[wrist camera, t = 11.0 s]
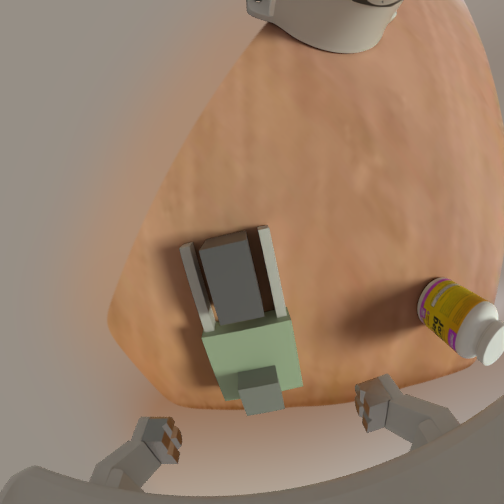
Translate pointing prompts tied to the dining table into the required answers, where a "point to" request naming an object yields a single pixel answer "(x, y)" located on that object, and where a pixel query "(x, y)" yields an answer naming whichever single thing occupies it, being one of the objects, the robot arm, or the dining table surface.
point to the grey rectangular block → (232, 278)
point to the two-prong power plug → (249, 341)
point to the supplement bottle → (462, 320)
